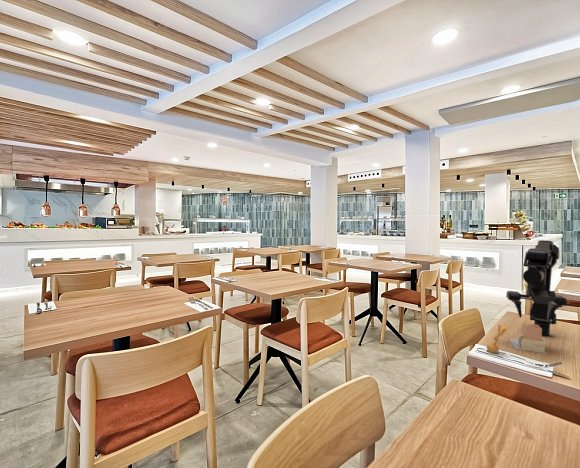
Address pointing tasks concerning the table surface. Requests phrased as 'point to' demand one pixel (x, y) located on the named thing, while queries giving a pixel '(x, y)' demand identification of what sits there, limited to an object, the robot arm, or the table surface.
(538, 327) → the top brick
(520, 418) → the table surface
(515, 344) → the build plate
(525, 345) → the base brick
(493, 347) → the figurine
